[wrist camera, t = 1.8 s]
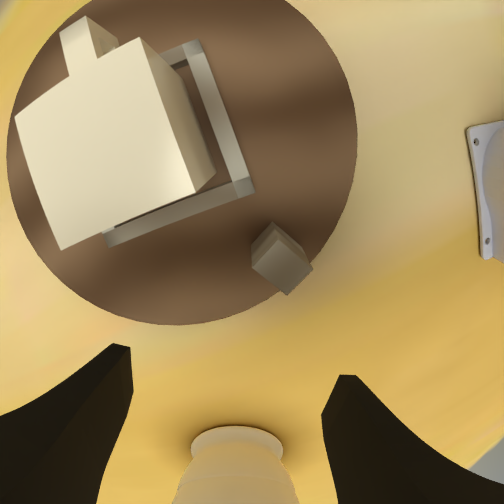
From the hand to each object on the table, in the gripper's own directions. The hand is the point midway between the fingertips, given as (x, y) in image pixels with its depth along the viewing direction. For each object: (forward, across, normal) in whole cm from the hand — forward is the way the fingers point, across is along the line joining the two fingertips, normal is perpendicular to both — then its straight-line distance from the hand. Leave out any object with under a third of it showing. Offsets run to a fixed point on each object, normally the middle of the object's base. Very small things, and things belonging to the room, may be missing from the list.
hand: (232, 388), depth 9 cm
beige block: (+8, +6, -8) cm, 13 cm away
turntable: (+9, +5, -7) cm, 13 cm away
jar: (+10, -2, +18) cm, 20 cm away
